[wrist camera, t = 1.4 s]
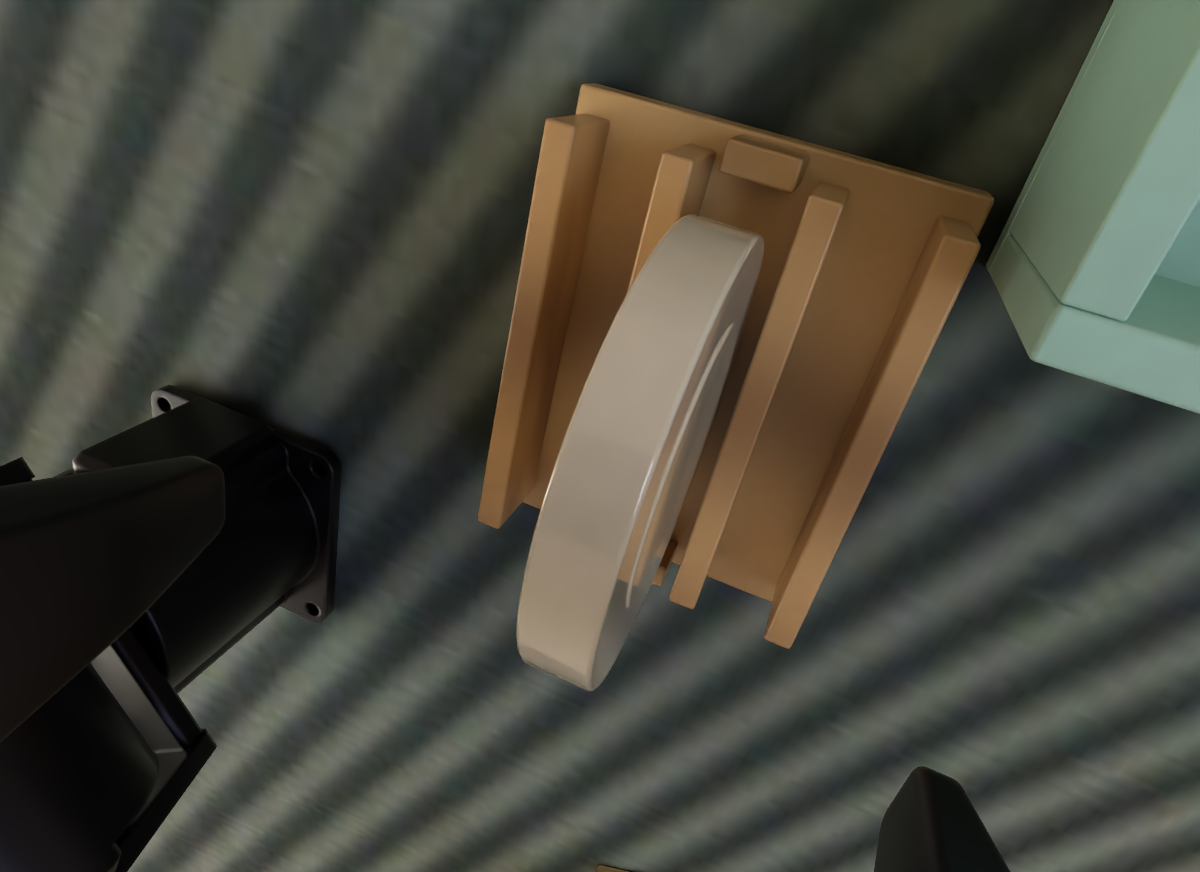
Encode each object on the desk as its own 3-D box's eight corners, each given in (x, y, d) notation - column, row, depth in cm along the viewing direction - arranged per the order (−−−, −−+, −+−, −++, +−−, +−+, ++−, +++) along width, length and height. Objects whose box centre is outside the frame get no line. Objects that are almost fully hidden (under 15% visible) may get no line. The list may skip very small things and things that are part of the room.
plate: (680, 530, 18) (552, 800, 12) (631, 511, 19) (477, 764, 12) (792, 200, 14) (699, 313, 8) (728, 182, 15) (582, 274, 8)
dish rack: (804, 596, 19) (791, 671, 16) (515, 480, 20) (465, 534, 18) (992, 192, 14) (1011, 216, 12) (594, 82, 16) (538, 83, 13)
